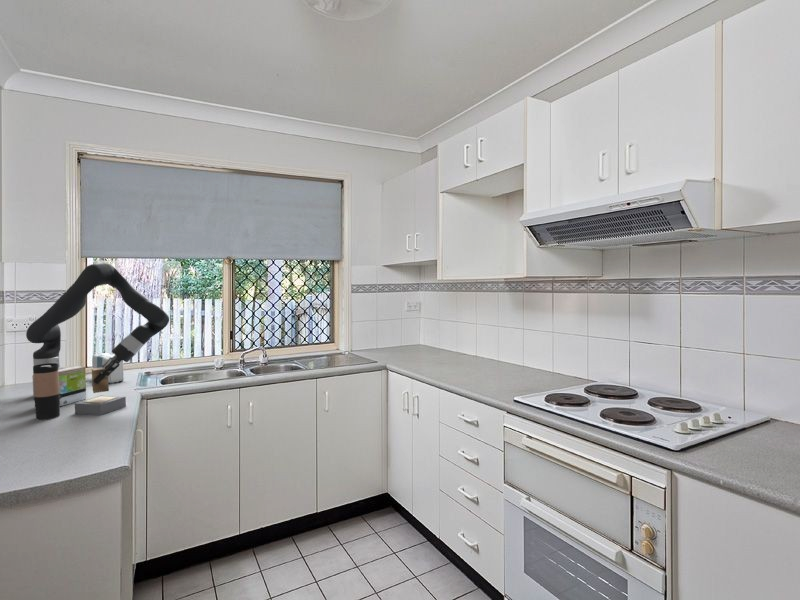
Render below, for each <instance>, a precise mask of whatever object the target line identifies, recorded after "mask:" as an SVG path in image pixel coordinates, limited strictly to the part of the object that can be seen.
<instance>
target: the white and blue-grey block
mask: <svg viewBox="0 0 800 600" xmlns="http://www.w3.org/2000/svg"><path fill="white" fill-rule="evenodd" d="M114 356H115V354H114V353H113V352H112V351H111V352H104V353H96V354H93V355H92V359H91V361H92V362H91V363H92V368H100V367H102V366H103V364H104V363H105V362H106V361H107V360H108V359H109V358H110V357H111V358H112V357H114ZM119 364H120V365H119V367H117V368H116V369H115V370H114V371H113V372H112V373H111V374H110V375H109V376H108V384H111V383H112V384H115V383H114V382H116V383H119V381H122V382H124V379H125V378H124V361H123V360H121V362H120V363H119Z"/></svg>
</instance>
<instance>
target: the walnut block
mask: <svg viewBox="0 0 800 600" xmlns="http://www.w3.org/2000/svg"><path fill="white" fill-rule="evenodd" d="M103 370H104V367H101V368H93V367H92V368H91V383H92V392H93V394H96V393H97V394H98V393H103V392H110V391H109V390H110V389H109V383H108V376H106V377H105V378H104V379H102V380H101V381H100V382H99V383H98V384H96V383H95V382H93V380H94V379H95V378H96V377H97V376H98V375H99V374H101V371H103ZM106 372H108V370H106Z"/></svg>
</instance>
